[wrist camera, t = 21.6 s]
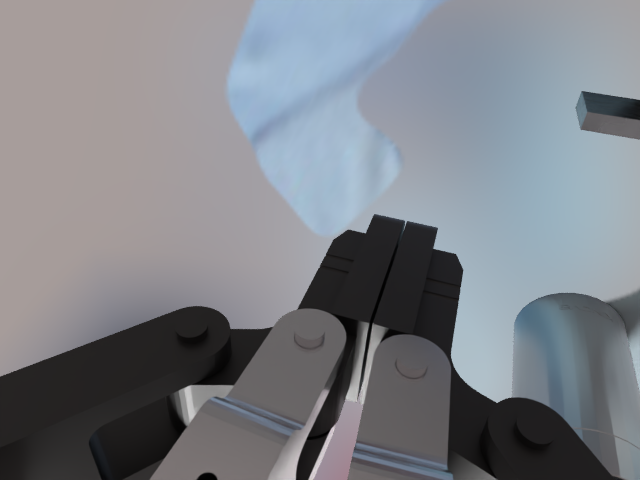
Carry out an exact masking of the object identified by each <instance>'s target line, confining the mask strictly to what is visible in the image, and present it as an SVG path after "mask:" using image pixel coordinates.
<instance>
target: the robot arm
mask: <svg viewBox="0 0 640 480" xmlns="http://www.w3.org/2000/svg"><path fill="white" fill-rule="evenodd" d="M404 226H405V221H404V220H399V219H395V218H390V217H386V216H381V215H376V214H374V216H373V218H372V220H371V223H370V225H369V227H368V230H367V232H366V234H365V233H361V232H356V231H352V230H347V231H345V232H344V233H343V234H341V235H340V236H338V237H337V238H335V239H334V240H333V242H332V244H331V246H330V248H329V249H328V252H327V253H326V256H325V257H324V259H323V261H322V263H321V265H320V268H319V269H318V271H317V273H316V275H315V277H314V279H313V280H312V282H311V284H310V286H309V288H308V290H307V292H306V294H305V296H304V298H303V300H302V301H301V304H300V305H299V308H298V309H297V310H294V311H292V312H289V313H287V314H285V315H284V316H282V317H281V318H280V319H279V320H278V322H277V323H276V324H275V325H274V327H270V328H265V329H230V325H229V322H228V320H227V319H226V317H225V316H224V315H223V314H221V313H220V312H219V311H217V310H215V309H212V308H208V307H202V306H193V307H186V308H182V309H179V310H176V311H173V312H171V313H168V314H165V315H163V316H160V317H157V318H155V319H152V320H150V321H147V322H144V323H142V324H139V325H136V326H134V327H131V328H129V329H126V330H123V331H120V332H118V333H115V334H113V335H110V336H107V337H104V338H102V339H99V340H96V341H94V342H91V343H88V344H86V345H83V346H81V347H78V348H75V349H73V350H70V351H67V352H65V353H62V354H59V355H57V356H54V357H51V358H49V359H46V360H43V361H41V362H38V363H36V364H33V365H30V366H28V367H25V368H22V369H19V370H17V371H14V372H11V373H9V374H6V375H3V376H1V377H0V480H313V479H314V477H315V475H316V473H317V470H318V468H319V466H320V464H321V461H322V459H323V456H324V454H325V452H326V450H327V447H328V445H329V443H330V441H331V438H332V436H333V434H334V431H335V424H336V422H337V421H338V419H339V416H340V413H341V410H342V407H343V404H344V402H345V400H349V401H352V402H357V399H358V396H359V393H360V390H361V386H362V384H363V386H362V392H361V398H360V404H363V410H362V415H361V420H360V425H359V431H358V435H357V440H356V444H355V447H354V452H353V456H352V460H351V465H350V470H349V475H348V480H640V392H639V387H638V383H637V378H636V374H635V369H634V365H633V360H632V355H631V351H630V346H629V342H628V337H627V333H626V328H625V325H624V322H623V320H622V318H621V317H620V315H619V314H618V313H617V311H616V310H615V309H613V308H612V307H611V306H610V305H608V304H607V303H605V302H603V301H601V300H599V299H597V298H593V297H591V296H588V295H583V294H576V293H558V294H551V295H547V296H544V297H541V298H538V299H536V300H534V301H532V302H531V303H529V304H528V305H527V306H525V307H524V308H523V309H522V310H521V312H520V313H519V314H518V315H517V318H516V320H515V323H514V345H513V382H512V383H513V384H512V398H508V399H505V400H502V401H500V402H498V403H496V402H494V401H492V400H491V399H489V398H487V397H486V396H484V395H482V394H480V393H479V392H477V391H476V390H474V389H473V388H471V387H470V386H469V385H467V384H466V383H465V382H464V381H463V379H462V378H461V377H460V376H459V374H458V373H457V372H456V370H455V368H454V366H453V363H452V359H451V348H452V341H453V334H454V328H455V321H456V315H457V308H458V300H459V295H460V287H461V282H462V275H463V268H462V266H461V264H460V262H459V260H458V257H457V256H456V254H453V253H448V252H445V251H440V250H436V249H433V247H434V243H435V239H436V234H437V230H438V228H436V227H432V226H427V225H423V224H418V223H413V222H409V221H407V223H406V226H405V229H404Z"/></svg>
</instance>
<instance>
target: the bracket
mask: <svg viewBox="0 0 640 480" xmlns="http://www.w3.org/2000/svg"><path fill="white" fill-rule="evenodd" d="M576 111H577V116H578V120H579V125H580V129H581V130H587V131H593V132H598V133H604V134H610V135H616V136H622V137H628V138H634V139H640V100H636V99H630V98H623V97H616V96H610V95H603V94H596V93H590V92H584V91H582V92H581V95H580V98H579V100H578V103H577V106H576Z"/></svg>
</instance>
